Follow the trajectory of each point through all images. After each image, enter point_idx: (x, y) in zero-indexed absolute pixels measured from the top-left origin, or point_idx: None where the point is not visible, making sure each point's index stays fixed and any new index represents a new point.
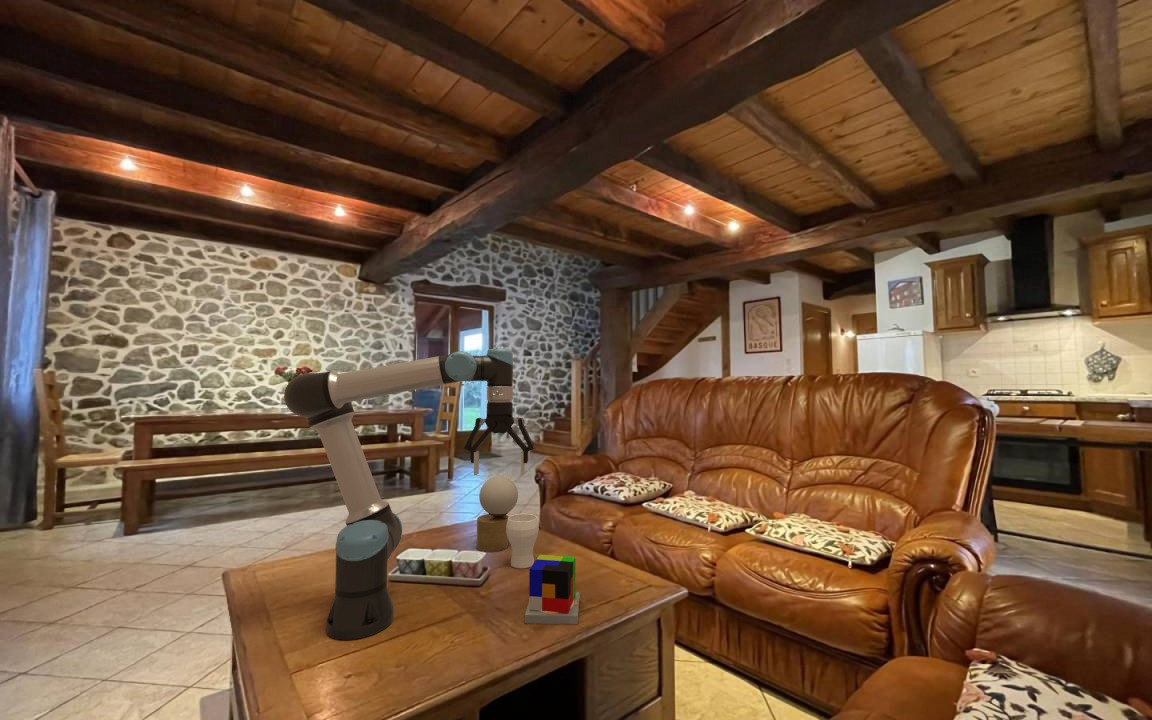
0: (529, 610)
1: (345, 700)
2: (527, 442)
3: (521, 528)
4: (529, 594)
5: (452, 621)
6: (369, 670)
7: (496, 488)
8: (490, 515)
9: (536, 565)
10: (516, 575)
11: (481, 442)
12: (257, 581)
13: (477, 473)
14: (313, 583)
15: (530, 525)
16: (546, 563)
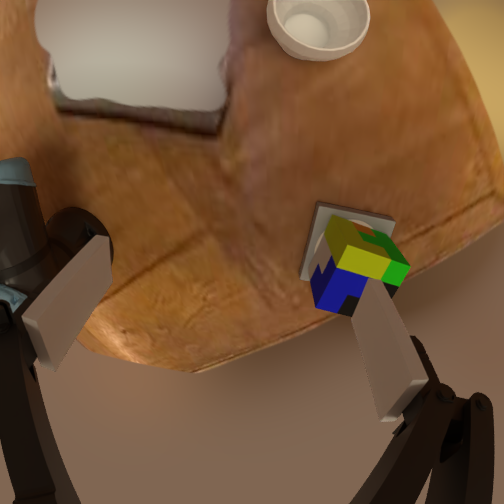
0: (307, 268)
1: (140, 356)
2: (437, 473)
3: (316, 57)
4: (310, 282)
5: (192, 254)
6: (137, 328)
7: None
8: None
9: (330, 295)
10: (291, 92)
11: (50, 433)
12: None
13: (109, 264)
14: None
15: (345, 51)
16: (351, 288)
